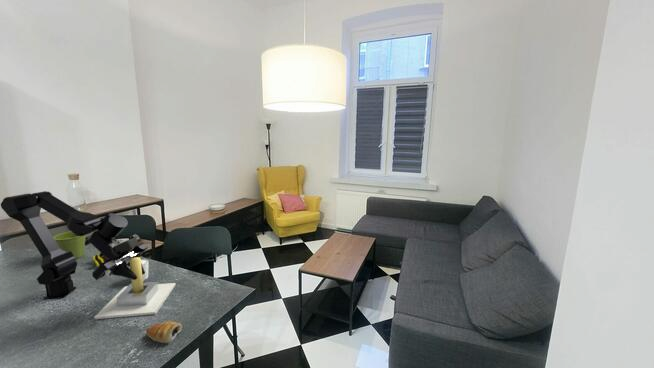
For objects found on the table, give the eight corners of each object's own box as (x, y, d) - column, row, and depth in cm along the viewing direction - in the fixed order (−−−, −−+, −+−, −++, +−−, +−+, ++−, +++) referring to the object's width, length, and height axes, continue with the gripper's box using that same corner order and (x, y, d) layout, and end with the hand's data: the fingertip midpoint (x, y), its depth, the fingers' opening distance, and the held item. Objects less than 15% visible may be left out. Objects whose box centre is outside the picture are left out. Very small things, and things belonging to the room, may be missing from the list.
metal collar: (117, 307, 91) (116, 297, 90) (131, 292, 100) (130, 283, 99) (146, 304, 93) (146, 295, 92) (158, 290, 101) (157, 281, 101)
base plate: (94, 319, 86) (94, 317, 86) (125, 288, 103) (125, 286, 103) (155, 314, 89) (155, 311, 89) (175, 284, 107) (175, 283, 106)
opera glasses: (95, 263, 124) (91, 254, 122) (109, 257, 128) (105, 248, 126) (98, 270, 117) (93, 261, 116) (112, 264, 121) (108, 255, 119)
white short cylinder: (139, 284, 107) (138, 267, 105) (125, 281, 108) (123, 265, 107) (153, 275, 113) (152, 260, 112) (140, 273, 114) (138, 258, 113)
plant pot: (76, 250, 134) (72, 229, 132) (96, 252, 132) (93, 231, 130) (48, 261, 122) (44, 238, 120) (71, 263, 121) (67, 240, 119)
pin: (132, 296, 94) (129, 262, 91) (133, 292, 96) (129, 258, 94) (143, 293, 95) (140, 259, 93) (143, 289, 98) (140, 256, 96)
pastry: (140, 341, 78) (138, 329, 77) (157, 325, 84) (156, 314, 84) (169, 345, 77) (168, 333, 76) (184, 329, 83) (184, 318, 83)
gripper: (96, 241, 83) (132, 276, 84) (141, 222, 101) (171, 251, 102) (76, 262, 85) (112, 296, 86) (124, 240, 103) (153, 268, 104)
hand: (140, 276), depth 94 cm, fingers closed on pin, 3 cm apart
